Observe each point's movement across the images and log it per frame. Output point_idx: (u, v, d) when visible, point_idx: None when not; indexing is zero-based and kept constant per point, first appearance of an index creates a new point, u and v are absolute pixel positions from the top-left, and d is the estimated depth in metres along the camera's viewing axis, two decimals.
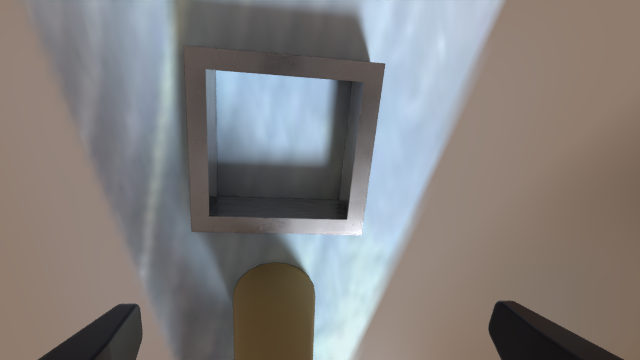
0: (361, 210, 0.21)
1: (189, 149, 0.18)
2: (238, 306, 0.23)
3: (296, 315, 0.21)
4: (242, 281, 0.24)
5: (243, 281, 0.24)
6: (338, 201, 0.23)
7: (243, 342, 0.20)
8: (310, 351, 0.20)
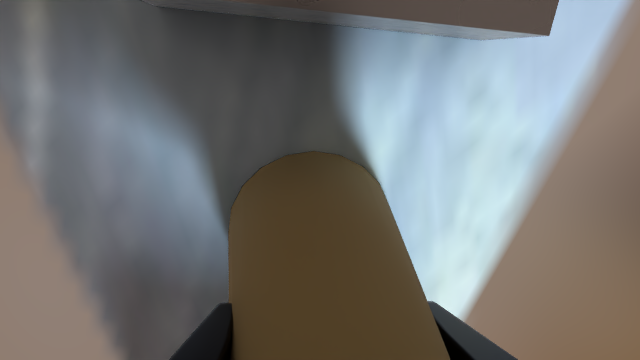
0: None
1: None
2: (238, 230, 0.10)
3: (386, 238, 0.08)
4: (246, 188, 0.12)
5: (250, 186, 0.11)
6: None
7: (254, 298, 0.07)
8: (436, 326, 0.07)
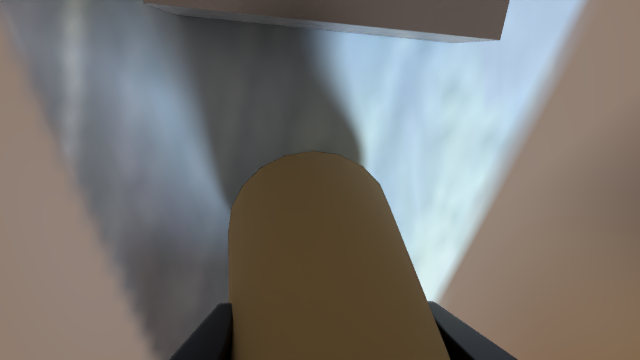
0: None
1: None
2: (238, 230, 0.10)
3: (386, 238, 0.08)
4: (246, 188, 0.12)
5: (250, 186, 0.11)
6: None
7: (253, 298, 0.07)
8: (436, 326, 0.07)
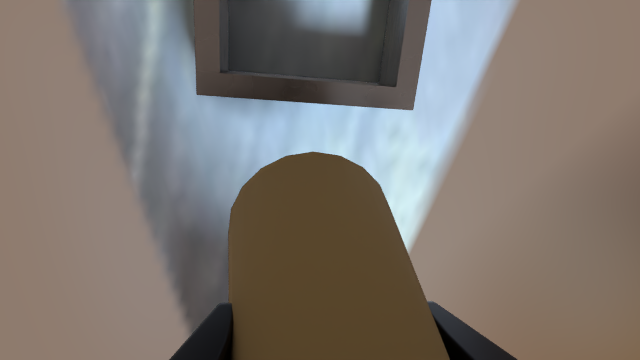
0: (414, 73, 0.16)
1: None
2: (238, 231, 0.10)
3: (386, 239, 0.08)
4: (246, 189, 0.12)
5: (250, 187, 0.11)
6: None
7: (254, 300, 0.07)
8: (436, 327, 0.07)
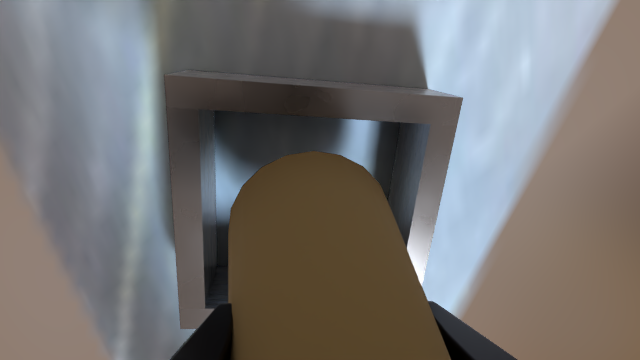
0: None
1: (175, 221, 0.13)
2: (238, 230, 0.10)
3: (386, 238, 0.08)
4: (246, 188, 0.12)
5: (250, 186, 0.11)
6: None
7: (253, 300, 0.07)
8: (437, 327, 0.07)
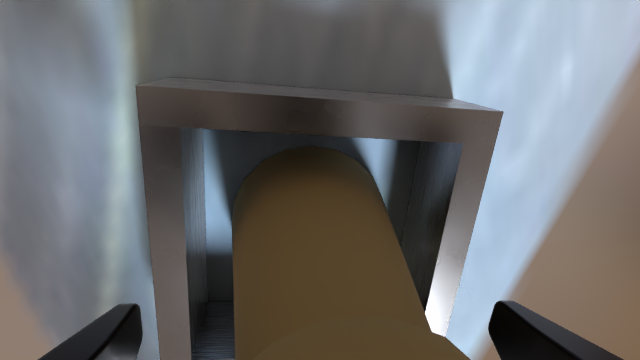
0: None
1: (154, 261, 0.10)
2: (241, 217, 0.11)
3: (374, 222, 0.09)
4: (249, 180, 0.13)
5: (251, 178, 0.12)
6: None
7: (256, 273, 0.08)
8: (418, 298, 0.08)
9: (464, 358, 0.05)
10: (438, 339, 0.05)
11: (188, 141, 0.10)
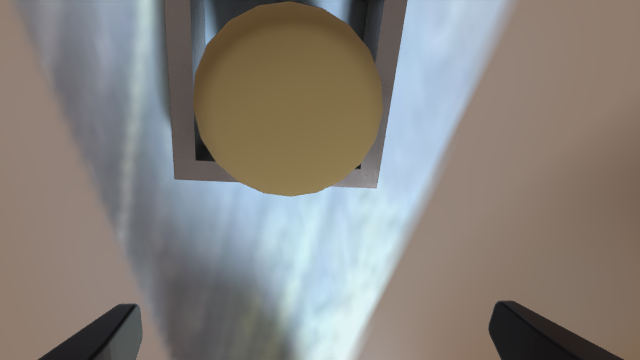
0: (377, 157, 0.17)
1: (169, 73, 0.15)
2: None
3: None
4: None
5: None
6: None
7: None
8: None
9: None
10: None
11: None
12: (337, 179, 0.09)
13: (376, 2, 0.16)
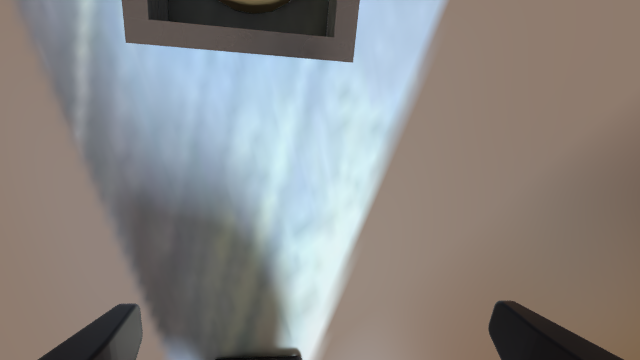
0: (352, 23, 0.16)
1: None
2: None
3: None
4: None
5: None
6: None
7: None
8: None
9: None
10: None
11: None
12: None
13: None
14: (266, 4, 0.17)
